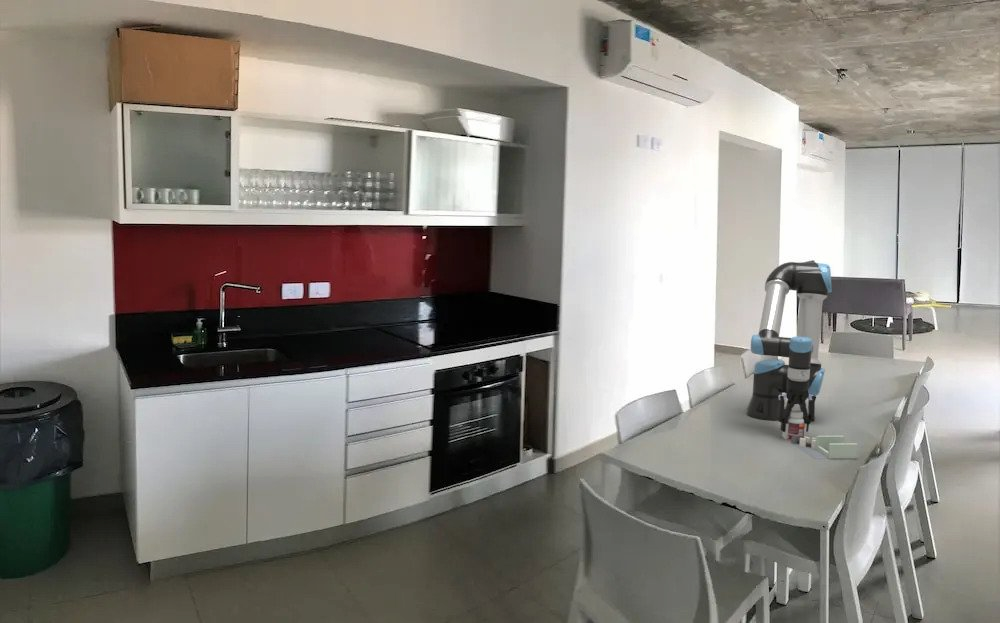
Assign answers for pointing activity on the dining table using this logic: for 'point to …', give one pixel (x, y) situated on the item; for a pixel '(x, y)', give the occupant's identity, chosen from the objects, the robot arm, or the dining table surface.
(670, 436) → the dining table surface
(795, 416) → the pill bottle
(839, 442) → the end holder
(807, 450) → the board
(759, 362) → the robot arm
